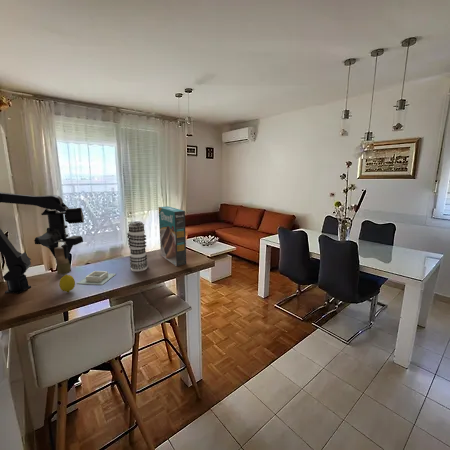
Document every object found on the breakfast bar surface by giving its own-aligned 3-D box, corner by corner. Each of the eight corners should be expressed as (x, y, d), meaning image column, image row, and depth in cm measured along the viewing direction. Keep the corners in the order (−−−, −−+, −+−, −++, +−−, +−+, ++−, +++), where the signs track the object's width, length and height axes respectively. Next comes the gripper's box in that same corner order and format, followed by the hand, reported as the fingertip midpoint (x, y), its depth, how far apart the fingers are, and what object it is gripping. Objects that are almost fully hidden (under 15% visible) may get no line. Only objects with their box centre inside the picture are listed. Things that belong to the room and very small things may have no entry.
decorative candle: (127, 267, 132) (124, 221, 127) (144, 263, 138) (141, 219, 133) (132, 273, 125) (129, 224, 120) (150, 268, 131) (148, 222, 125)
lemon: (59, 292, 105) (56, 274, 103) (74, 288, 108) (71, 271, 107) (62, 296, 101) (59, 278, 99) (77, 292, 105) (75, 274, 103)
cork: (74, 269, 129) (71, 249, 126) (63, 274, 123) (60, 253, 121) (64, 268, 130) (62, 248, 128) (54, 273, 124) (51, 252, 122)
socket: (77, 283, 113) (76, 278, 112) (93, 273, 124) (92, 268, 124) (102, 285, 112) (101, 279, 111) (116, 274, 123) (115, 269, 123)
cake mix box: (160, 255, 152) (158, 207, 146) (170, 253, 155) (168, 206, 149) (176, 266, 135) (174, 211, 128) (186, 263, 138) (184, 210, 132)
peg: (53, 264, 109) (51, 249, 108) (61, 260, 113) (59, 246, 112) (63, 264, 109) (61, 249, 107) (70, 261, 113) (68, 246, 112)
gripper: (20, 227, 100) (26, 264, 103) (63, 229, 99) (68, 265, 102) (42, 222, 111) (47, 255, 114) (81, 223, 110) (85, 256, 113)
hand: (61, 258), depth 111 cm, fingers closed on peg, 4 cm apart
